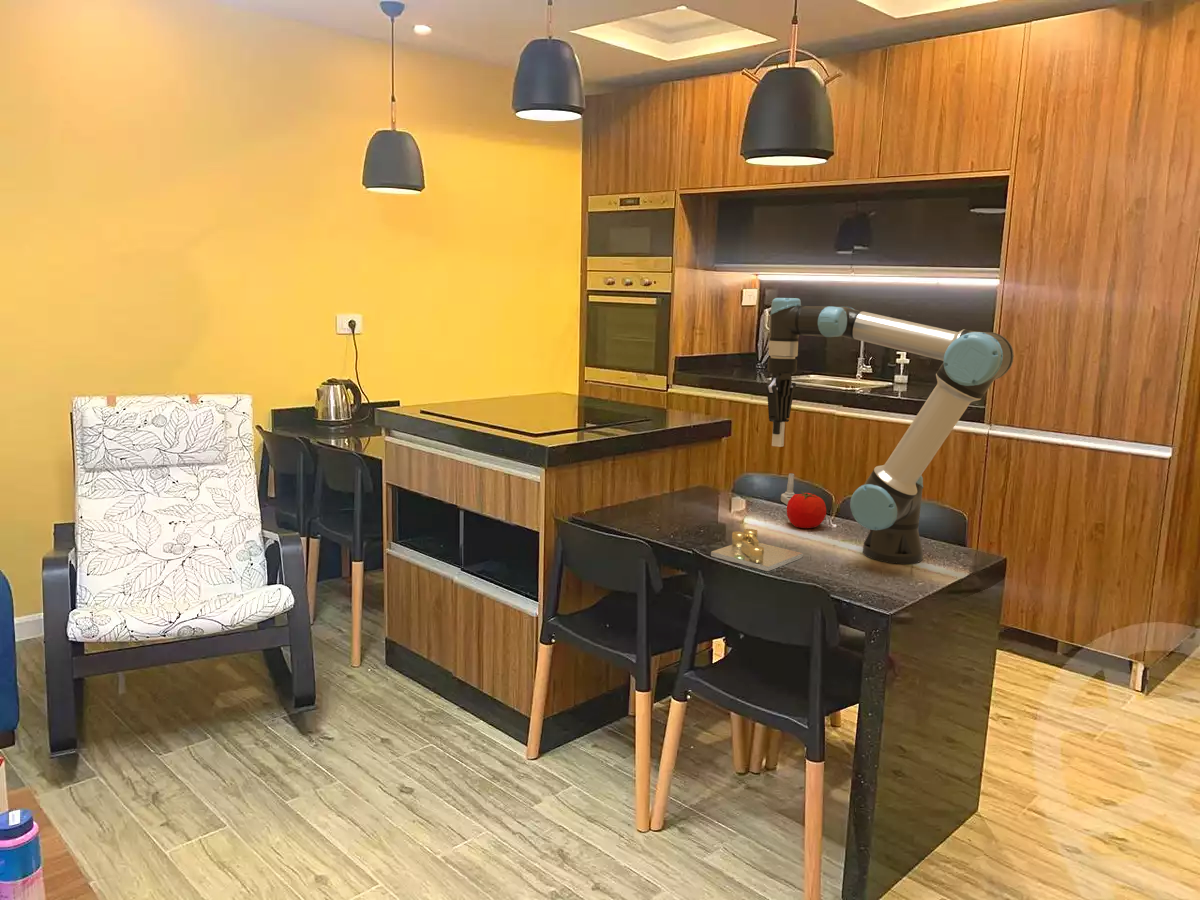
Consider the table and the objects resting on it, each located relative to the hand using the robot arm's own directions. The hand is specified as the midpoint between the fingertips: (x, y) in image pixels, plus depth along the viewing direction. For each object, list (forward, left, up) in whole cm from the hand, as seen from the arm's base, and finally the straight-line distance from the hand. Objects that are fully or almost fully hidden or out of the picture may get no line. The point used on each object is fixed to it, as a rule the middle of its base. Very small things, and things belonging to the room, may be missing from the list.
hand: (777, 445), depth 238 cm
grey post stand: (+19, -47, -28) cm, 58 cm away
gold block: (0, +9, -26) cm, 28 cm away
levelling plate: (-4, +13, -27) cm, 30 cm away
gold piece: (-5, +18, -26) cm, 32 cm away
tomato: (+3, -25, -28) cm, 37 cm away
